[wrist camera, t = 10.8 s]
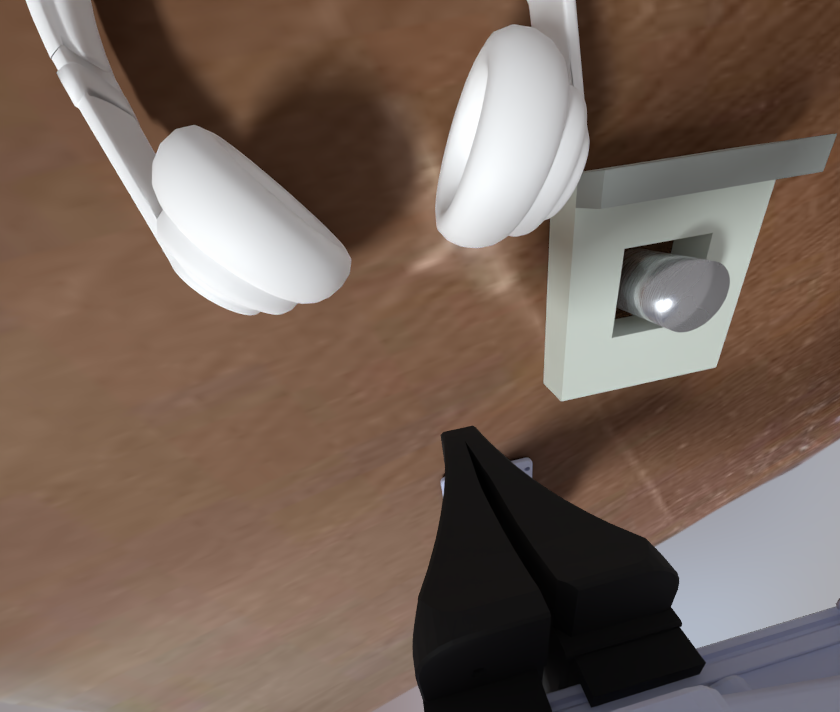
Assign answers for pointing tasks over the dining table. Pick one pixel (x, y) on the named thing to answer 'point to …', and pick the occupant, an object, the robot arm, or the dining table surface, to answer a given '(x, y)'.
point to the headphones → (284, 215)
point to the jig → (647, 224)
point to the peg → (671, 288)
